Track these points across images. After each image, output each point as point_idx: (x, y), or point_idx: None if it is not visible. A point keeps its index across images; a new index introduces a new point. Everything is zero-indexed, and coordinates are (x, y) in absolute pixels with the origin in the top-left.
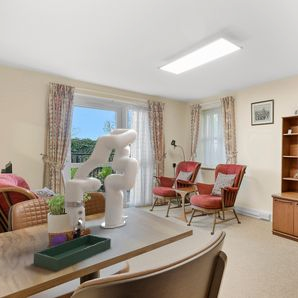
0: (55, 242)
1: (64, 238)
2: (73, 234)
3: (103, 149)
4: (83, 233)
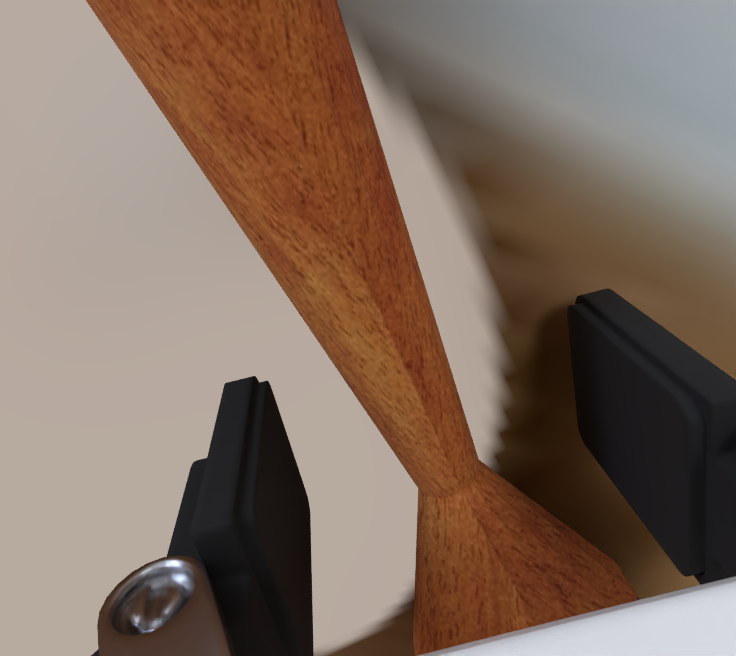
0: None
1: None
2: (709, 576)
3: None
4: (364, 94)
